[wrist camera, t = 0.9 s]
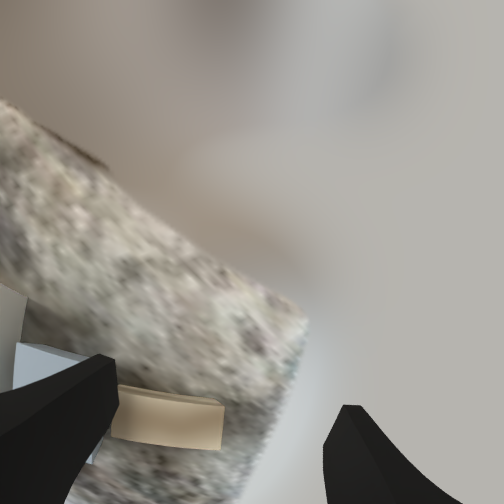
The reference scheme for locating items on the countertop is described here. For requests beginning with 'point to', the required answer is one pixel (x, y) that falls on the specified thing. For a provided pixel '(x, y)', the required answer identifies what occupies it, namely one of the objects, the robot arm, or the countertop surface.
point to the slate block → (43, 367)
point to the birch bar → (168, 419)
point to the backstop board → (9, 332)
